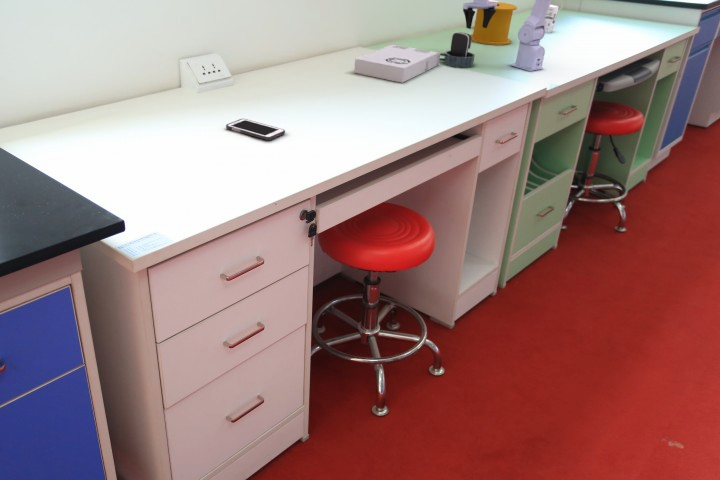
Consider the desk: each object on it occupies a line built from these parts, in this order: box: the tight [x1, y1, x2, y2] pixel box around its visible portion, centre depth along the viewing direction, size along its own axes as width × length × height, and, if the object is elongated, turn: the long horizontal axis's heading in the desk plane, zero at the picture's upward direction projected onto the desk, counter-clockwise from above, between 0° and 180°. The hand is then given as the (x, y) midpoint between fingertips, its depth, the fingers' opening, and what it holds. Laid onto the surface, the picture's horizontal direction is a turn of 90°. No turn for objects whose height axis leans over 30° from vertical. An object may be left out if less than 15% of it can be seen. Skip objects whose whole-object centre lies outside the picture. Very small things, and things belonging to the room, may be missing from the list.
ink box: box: [545, 4, 560, 34], centre depth 321 cm, size 9×5×12 cm, turn 48°
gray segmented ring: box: [439, 50, 476, 69], centre depth 256 cm, size 14×11×4 cm
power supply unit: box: [353, 43, 442, 84], centre depth 244 cm, size 19×33×5 cm, turn 149°
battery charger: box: [449, 31, 472, 57], centre depth 254 cm, size 7×4×11 cm, turn 46°
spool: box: [470, 1, 518, 46], centre depth 294 cm, size 18×18×15 cm
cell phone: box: [225, 118, 286, 141], centre depth 180 cm, size 8×15×1 cm, turn 57°
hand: (476, 27), depth 268 cm, fingers open, 7 cm apart
